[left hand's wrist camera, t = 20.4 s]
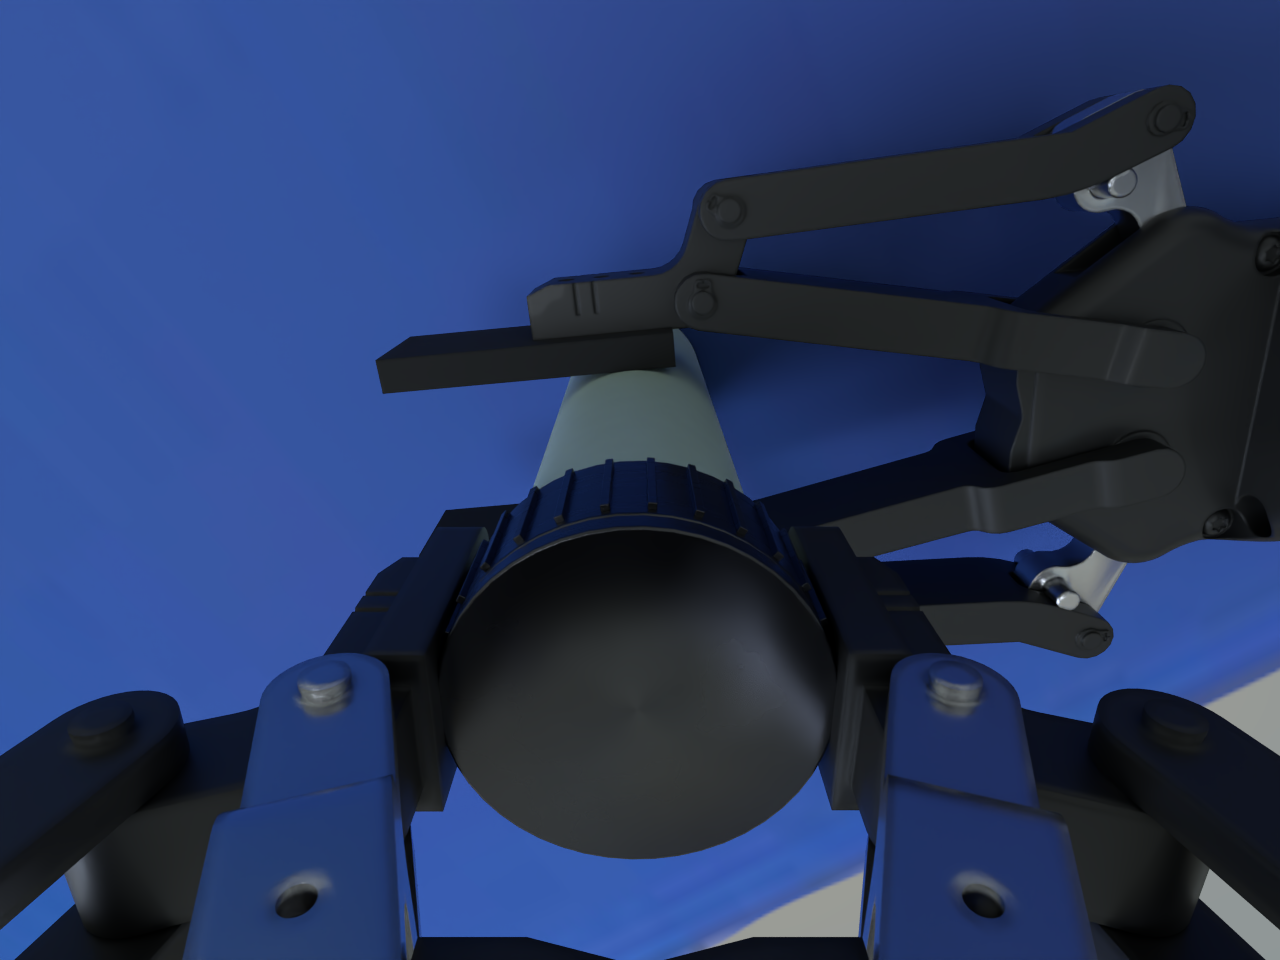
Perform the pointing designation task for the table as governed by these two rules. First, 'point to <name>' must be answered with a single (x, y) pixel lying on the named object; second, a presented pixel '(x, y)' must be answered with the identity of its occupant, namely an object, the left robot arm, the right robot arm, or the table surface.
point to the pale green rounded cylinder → (639, 421)
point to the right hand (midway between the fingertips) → (419, 458)
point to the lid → (637, 664)
